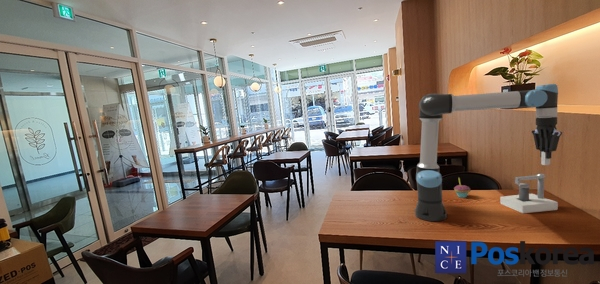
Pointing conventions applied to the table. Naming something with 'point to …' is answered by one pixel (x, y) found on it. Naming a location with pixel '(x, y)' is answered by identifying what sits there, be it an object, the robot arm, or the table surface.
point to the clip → (529, 178)
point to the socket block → (530, 201)
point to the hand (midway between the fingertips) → (545, 164)
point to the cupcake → (462, 190)
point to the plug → (523, 192)
